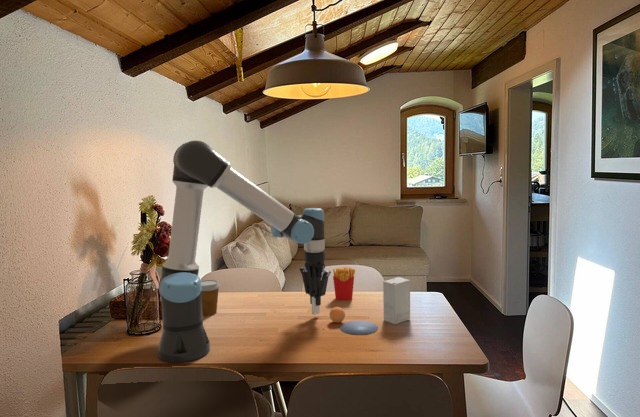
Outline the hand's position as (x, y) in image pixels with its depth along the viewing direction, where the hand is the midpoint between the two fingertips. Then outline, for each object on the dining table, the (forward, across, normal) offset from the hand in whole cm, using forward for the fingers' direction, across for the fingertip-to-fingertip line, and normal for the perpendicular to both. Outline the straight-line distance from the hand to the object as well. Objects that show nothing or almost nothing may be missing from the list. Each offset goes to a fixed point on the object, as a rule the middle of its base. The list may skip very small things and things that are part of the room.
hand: (315, 313), depth 169 cm
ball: (-1, -10, 0) cm, 10 cm away
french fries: (+2, +4, -25) cm, 25 cm away
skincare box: (+2, -26, -14) cm, 30 cm away
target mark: (+1, -19, 0) cm, 19 cm away
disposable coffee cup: (+2, +37, +20) cm, 42 cm away
